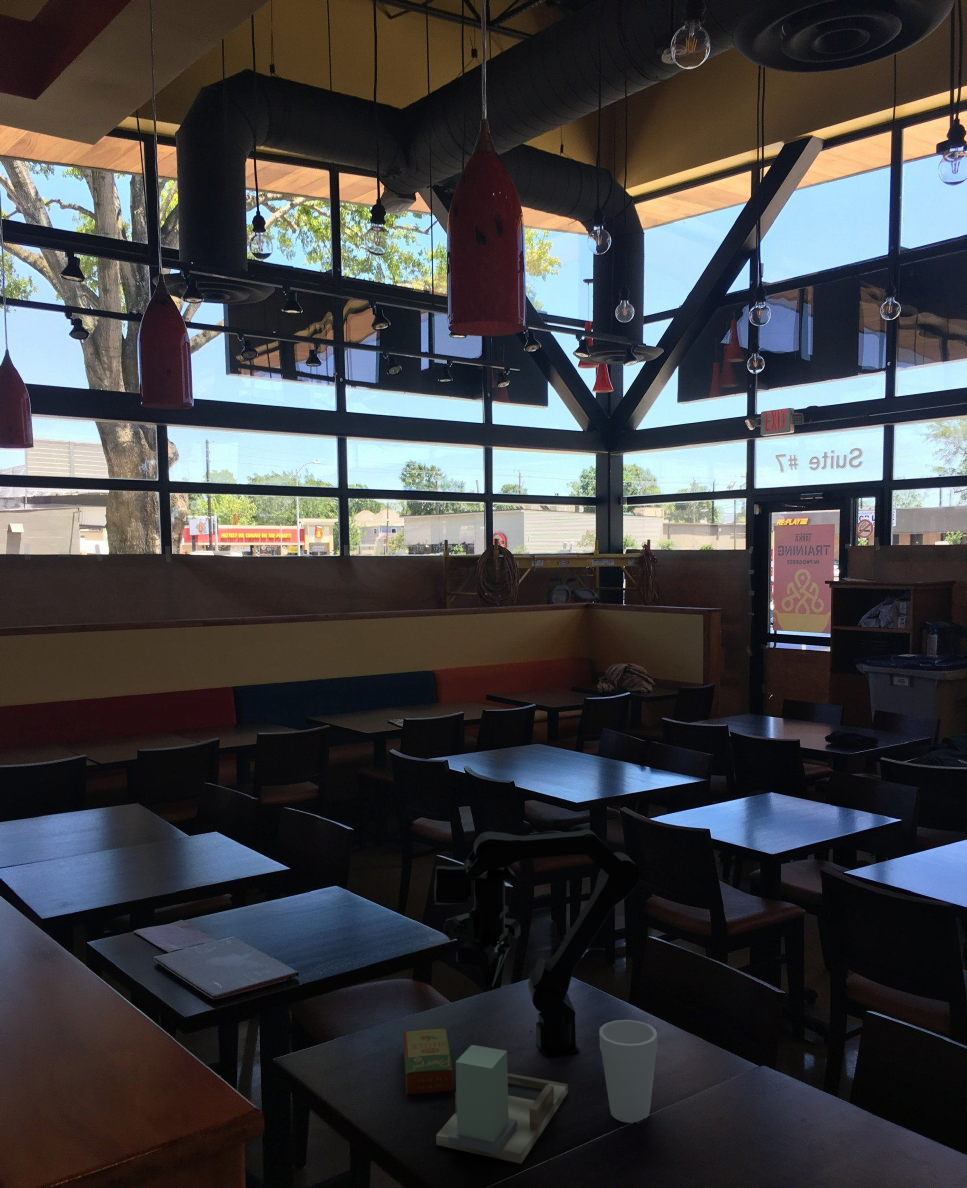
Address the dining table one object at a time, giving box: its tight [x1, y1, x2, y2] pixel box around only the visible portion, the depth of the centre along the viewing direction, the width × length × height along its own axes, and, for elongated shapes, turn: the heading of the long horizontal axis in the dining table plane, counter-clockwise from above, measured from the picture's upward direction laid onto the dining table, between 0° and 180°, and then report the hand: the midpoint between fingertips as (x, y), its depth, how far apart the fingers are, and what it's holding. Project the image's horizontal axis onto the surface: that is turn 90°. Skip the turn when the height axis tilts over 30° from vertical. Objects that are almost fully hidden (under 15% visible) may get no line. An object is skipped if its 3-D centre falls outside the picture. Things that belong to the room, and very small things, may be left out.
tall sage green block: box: [449, 1044, 517, 1154], centre depth 148 cm, size 8×8×12 cm
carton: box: [402, 1028, 455, 1095], centre depth 172 cm, size 8×16×4 cm, turn 6°
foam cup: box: [598, 1019, 659, 1124], centre depth 157 cm, size 10×9×13 cm
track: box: [435, 1073, 569, 1165], centre depth 156 cm, size 22×14×4 cm, turn 157°
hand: (489, 986), depth 179 cm, fingers closed
